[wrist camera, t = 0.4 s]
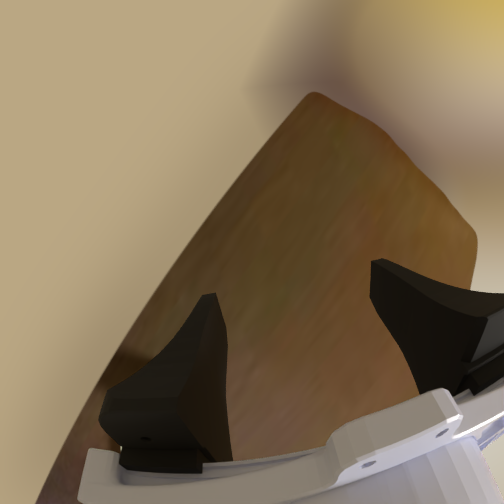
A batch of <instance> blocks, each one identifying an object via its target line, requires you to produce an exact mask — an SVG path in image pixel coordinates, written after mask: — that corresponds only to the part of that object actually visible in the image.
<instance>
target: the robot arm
mask: <svg viewBox="0 0 504 504" xmlns="http://www.w3.org/2000/svg"><path fill="white" fill-rule="evenodd" d="M370 299H371V301H372V303H373V305H374V307H375V309H376V311H377V313H378V315H379V317H380V318H381V320H382V321H383V323H384V324H385V326H386V327H387V329H388V330H389V332H390V333H391V335H392V336H393V338H394V339H395V341H396V342H397V344H398V345H399V347H400V349H401V351H402V352H403V354H404V357H405V359H406V361H407V363H408V365H409V367H410V370H411V372H412V375H413V377H414V380H415V382H416V385H417V388H418V391H419V394H420V395H419V396H417V397H414V398H412V399H410V400H407V401H405V402H402V403H400V404H397V405H394V406H392V407H389V408H386V409H383V410H381V411H378V412H375V413H372V414H369V415H366V416H363V417H360V418H358V419H355V420H353V421H351V422H348V423H346V424H344V425H343V426H341V427H340V428H338V429H337V430H335V431H334V432H333V433H332V434H331V436H330V438H329V439H328V441H327V442H326V446H323V447H319V448H314V449H310V450H305V451H300V452H295V453H290V454H285V455H279V456H273V457H266V458H259V459H251V460H242V461H233V458H232V451H231V443H230V435H229V426H228V416H227V404H226V371H227V351H228V344H227V331H226V325H225V322H224V319H223V316H222V312H221V309H220V306H219V302H218V299H217V296H216V293H211V294H206V295H202V296H201V298H200V299H199V301H198V303H197V304H196V306H195V307H194V309H193V311H192V312H191V314H190V315H189V317H188V318H187V320H186V321H185V323H184V324H183V326H182V327H181V328H180V330H179V331H178V332H177V334H176V335H175V336H174V338H173V339H172V340H171V341H170V342H169V343H168V345H167V346H166V347H165V348H164V349H163V350H162V351H161V352H160V353H159V354H158V355H157V356H156V357H154V358H153V359H152V360H151V361H150V362H149V363H148V364H147V365H145V366H144V367H143V368H142V369H140V370H139V371H138V372H136V373H135V374H133V375H132V376H131V377H129V378H127V379H126V380H124V381H123V382H121V383H119V384H118V385H116V386H114V387H112V388H111V389H109V390H107V393H106V396H105V399H104V402H103V405H102V408H101V412H100V415H99V423H100V425H101V427H102V428H103V429H104V431H105V432H106V433H107V434H108V435H109V436H110V437H112V438H113V439H114V440H115V441H116V442H117V443H118V444H119V445H120V446H121V447H122V449H121V454H119V453H117V452H114V451H109V450H101V449H94V448H89V450H88V454H87V458H86V462H85V466H84V470H83V474H82V478H81V483H80V488H79V492H78V497H77V499H78V501H79V502H81V503H83V504H504V500H503V498H502V495H501V493H500V490H499V488H498V486H497V484H496V482H495V479H494V477H493V475H492V473H491V471H490V468H489V466H488V465H487V463H486V460H485V458H484V456H483V454H482V453H481V451H482V450H483V449H485V448H486V447H487V446H489V445H490V444H491V443H493V442H494V441H495V440H496V439H498V438H499V437H500V436H501V435H503V434H504V293H486V292H478V291H471V290H467V289H462V288H458V287H454V286H450V285H447V284H444V283H441V282H438V281H435V280H432V279H430V278H427V277H425V276H422V275H420V274H418V273H415V272H413V271H411V270H409V269H407V268H404V267H402V266H400V265H398V264H396V263H393V262H391V261H389V260H386V259H383V258H382V259H378V260H373V261H371V280H370Z"/></svg>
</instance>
